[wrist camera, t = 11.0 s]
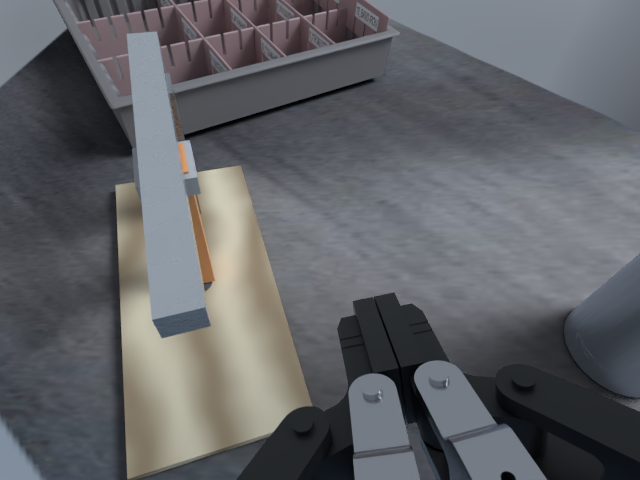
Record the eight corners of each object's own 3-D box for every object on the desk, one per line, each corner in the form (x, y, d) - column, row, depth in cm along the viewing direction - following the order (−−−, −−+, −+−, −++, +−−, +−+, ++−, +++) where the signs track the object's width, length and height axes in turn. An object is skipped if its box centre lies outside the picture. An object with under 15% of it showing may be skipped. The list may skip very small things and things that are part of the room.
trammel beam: (194, 175, 48) (160, 31, 35) (240, 407, 33) (211, 305, 20) (167, 180, 47) (122, 34, 34) (201, 419, 32) (144, 321, 19)
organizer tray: (69, 42, 66) (40, -28, 58) (288, 0, 81) (289, -61, 73) (132, 164, 50) (103, 91, 42) (389, 83, 65) (404, 18, 57)
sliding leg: (214, 250, 41) (189, 138, 30) (221, 284, 39) (196, 175, 28) (172, 259, 40) (131, 146, 29) (177, 293, 38) (134, 185, 27)
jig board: (241, 171, 50) (240, 165, 49) (315, 421, 33) (316, 418, 32) (118, 191, 47) (115, 185, 46) (131, 481, 30) (127, 479, 29)
